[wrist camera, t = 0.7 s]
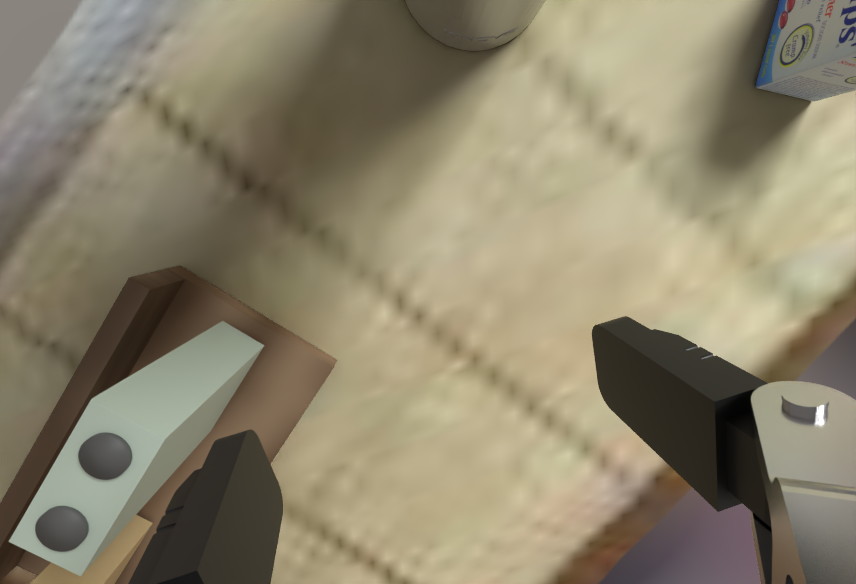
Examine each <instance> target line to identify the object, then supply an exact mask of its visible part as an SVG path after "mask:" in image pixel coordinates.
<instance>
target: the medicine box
mask: <svg viewBox="0 0 856 584" xmlns="http://www.w3.org/2000/svg"><path fill="white" fill-rule="evenodd" d="M756 88H759V89H763V90H768V91H771V92H775V93H779V94H784V95H789V96H793V97H797V98H801V99H805V100H809V101H818V100H821V99H824V98H828V97H832V96H836V95H839V94H843V93H847V92H851V91H854V90H856V0H779V3H778V7H777V10H776V14H775V18H774V22H773V25H772V29H771V32H770V36H769V39H768V43H767V46H766V50H765V54H764V57H763V61H762V64H761V67H760V72H759V75H758V78H757V82H756Z"/></svg>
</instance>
